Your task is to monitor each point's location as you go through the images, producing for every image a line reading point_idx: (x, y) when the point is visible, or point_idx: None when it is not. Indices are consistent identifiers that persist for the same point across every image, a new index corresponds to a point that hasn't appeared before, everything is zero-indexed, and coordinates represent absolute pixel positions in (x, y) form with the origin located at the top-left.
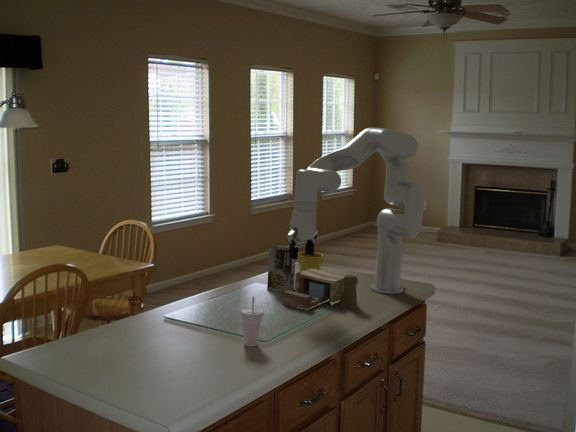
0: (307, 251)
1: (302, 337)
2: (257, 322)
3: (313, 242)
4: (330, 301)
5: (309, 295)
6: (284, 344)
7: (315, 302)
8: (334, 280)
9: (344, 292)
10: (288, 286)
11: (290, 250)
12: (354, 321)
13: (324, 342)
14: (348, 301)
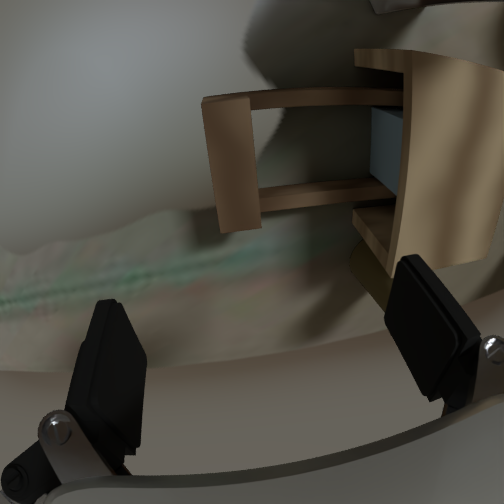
0: (407, 301)
1: (55, 335)
2: None
3: (446, 410)
4: (357, 219)
5: (259, 217)
6: (8, 333)
7: (289, 206)
8: None
9: (377, 286)
10: (385, 2)
11: (71, 385)
12: (254, 340)
13: None
14: (362, 283)
